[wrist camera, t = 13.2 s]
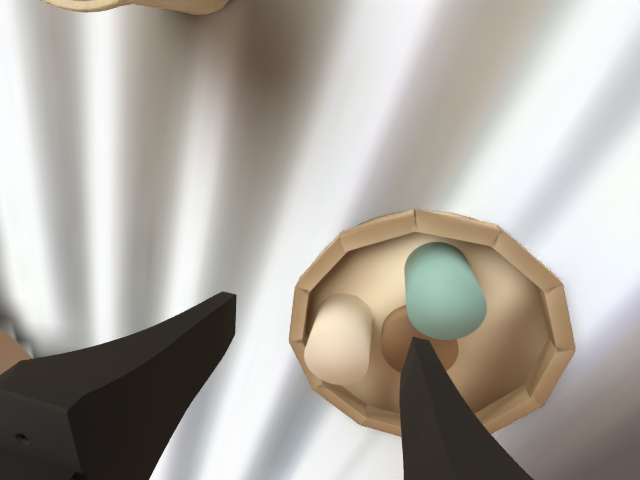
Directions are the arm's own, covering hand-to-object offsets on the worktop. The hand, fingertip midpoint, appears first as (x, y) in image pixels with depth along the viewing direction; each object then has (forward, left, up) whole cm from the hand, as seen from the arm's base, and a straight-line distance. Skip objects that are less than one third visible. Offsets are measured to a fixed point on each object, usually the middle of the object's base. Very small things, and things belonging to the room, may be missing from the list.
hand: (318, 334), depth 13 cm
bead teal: (-6, +1, -10) cm, 11 cm away
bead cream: (-1, +6, -10) cm, 12 cm away
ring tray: (-6, +6, -10) cm, 13 cm away
